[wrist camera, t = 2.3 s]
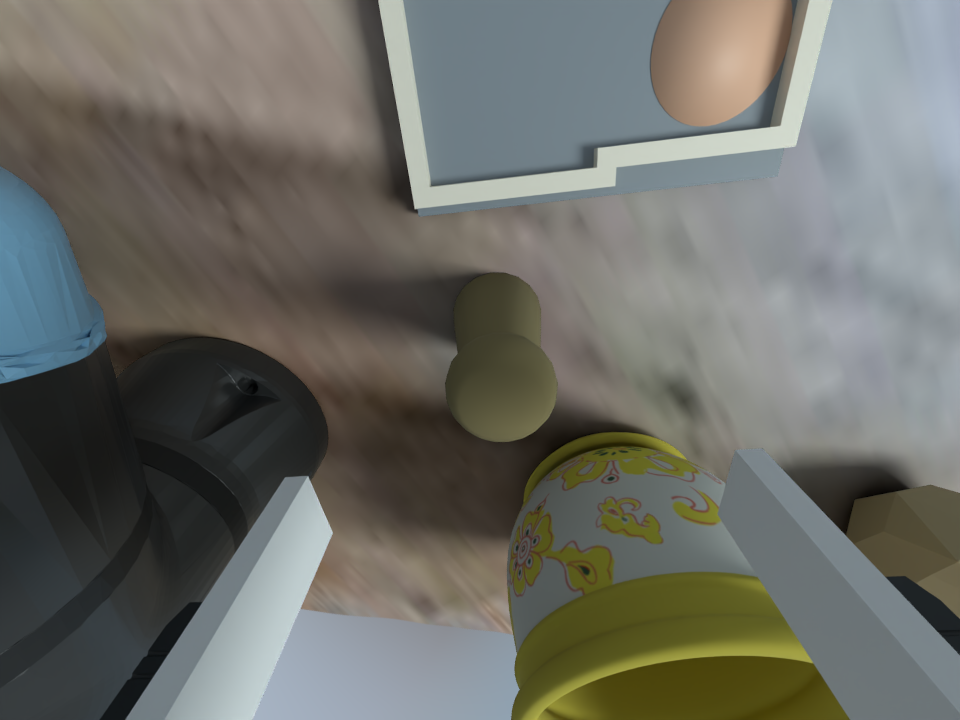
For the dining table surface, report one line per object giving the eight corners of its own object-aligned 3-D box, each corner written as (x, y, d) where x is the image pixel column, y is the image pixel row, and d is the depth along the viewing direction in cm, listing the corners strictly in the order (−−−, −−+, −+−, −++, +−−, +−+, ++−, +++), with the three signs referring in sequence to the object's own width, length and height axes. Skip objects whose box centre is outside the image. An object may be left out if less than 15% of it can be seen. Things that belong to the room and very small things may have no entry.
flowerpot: (700, 540, 36) (843, 794, 22) (517, 559, 38) (535, 803, 23) (719, 386, 28) (971, 627, 13) (484, 420, 30) (481, 664, 15)
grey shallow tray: (421, 214, 23) (416, 218, 21) (374, -65, 17) (362, -88, 15) (765, 175, 21) (787, 176, 20) (837, -141, 16) (876, -175, 14)
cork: (436, 297, 25) (404, 382, 15) (518, 255, 24) (539, 321, 14) (478, 367, 27) (473, 479, 18) (554, 333, 26) (593, 434, 16)
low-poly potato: (924, 427, 30) (837, 517, 27) (1173, 541, 22) (1086, 682, 19) (847, 507, 40) (779, 578, 37) (999, 604, 32) (927, 702, 29)
